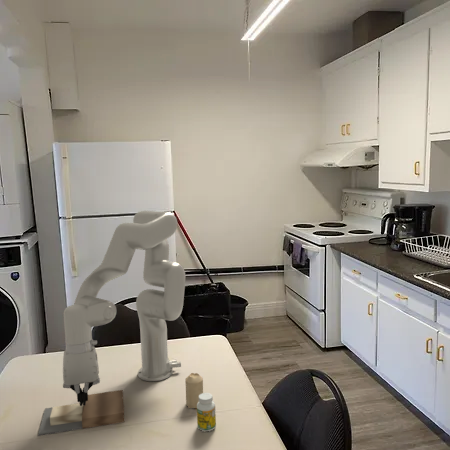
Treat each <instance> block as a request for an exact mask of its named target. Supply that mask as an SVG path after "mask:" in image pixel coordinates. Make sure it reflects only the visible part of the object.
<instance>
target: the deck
mask: <svg viewBox="0 0 450 450" xmlns="http://www.w3.org/2000/svg"><path fill="white" fill-rule="evenodd" d="M124 407H125V406H124V389H120V390H113V391H106V392H99V393H91V394H88V401H86V405H83V413H82V429H81V430H83V429H89V428H95V427H96V428H97V427H101V426H107V425H108V426H109V425H114V424H115V425H116V424H119V423H125V422H126V421H125V408H124Z"/></svg>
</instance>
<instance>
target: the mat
mask: <svg viewBox="0 0 450 450" xmlns="http://www.w3.org/2000/svg"><path fill="white" fill-rule="evenodd" d="M53 407H54V406H51V407H46V408H44V412H43V416H42V419H41V423H40V426H39V431H38V433H37V435H38V437H41V436H45V435H51V434H57V433H58V434H59V433H65V432H69V431H76V430H83V429H82V421H78V422H72V423H65V424H59V425H52V426H50V415H51V412H52V408H53Z"/></svg>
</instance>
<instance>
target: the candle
mask: <svg viewBox="0 0 450 450" xmlns="http://www.w3.org/2000/svg"><path fill="white" fill-rule="evenodd" d="M202 393H204V378H203V376H201V375H200V374H199V373H197V372H196V373H194V372H192V373H190V374H189V375H188V376H186V378H185V405H186V407H187V406H188V407H189V409H191V408H197V403H198V402H199V395H200V394H202ZM188 407H187V408H188Z"/></svg>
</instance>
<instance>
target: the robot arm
mask: <svg viewBox="0 0 450 450" xmlns="http://www.w3.org/2000/svg"><path fill="white" fill-rule="evenodd" d="M132 220H133V221H132V222H122V223H120V224H118V225H117V227H116V228H115V229H114V231H113V234H112V237H111V240H110V242H109V244H108V247H107V249H106V252H105V255H104V257H103V260H102V262H101V263H100V265H99V266H98V267H96V268H95V269H94V270H93V271H92V272H91V273H90V274H89V275H87V277H86V278H85V279H84V281H83V282H82V283H81V285H80V288H79V290H78V292H77V294H76V297H75V300H74V304H71V305H69V306H66V307H65V308H64V310H63V327H64V337H65V338H64V339H65V340H64V341H65V350H64V351H63V356H62V381H63V384H62V388H64V389H71V390H72V391H74V392H75V394H76V397H77V398H76V399H77V403H80V406H82V405H86V401H88V395H89V394H88V393H89V390H90V389H91V388H92V386H95V385H98V384H100V382H101V378H100V376H99V373H100V371H99V360H98V353H97V351H96V347H95V345H98V340H94V339H93V336H92V334H93V333H92V328H93V327H98V326H103V325H106V324H109V323H111V322H112V321H113V320H114V319H115V318H116V315H117V306H116V304H114V303H113V302H112V301H110V300H107V299H103V298H99V297H98V294H99V292H100V291H101V290H102V288H103V287H104V286H105V285H106V284H107V283H109V282H110V281H113V280H115V279H117V278H120V277H122V276H124V275H126V274H127V272H128V270H129V268H130V264H131V261H132V260H133V257H134V254H135V252H136V250H142V251H144V262H143V271H142V272H143V277H142V278H143V280H144V283H146V284H147V285H149V286H153V287H156V288H157V287H158V288H164V289H163V290H158V289H154V288H153V289H152V288H149V289H148V288H147V289H144V290H142V291H141V292H140V293H138V295H137V297H136V299H135V300H136V301H135V306H136V310H137V315H138V319H139V329H140V332H139V333H140V334H139V335H140V351H141V352H140V355H141V367H140V368H139V369H138V371H137V375H138V379H140V380H142V381H145V382H146V381H147V382H159V381H163V380H166V379H167V378H170V377H171V376H172V374H173V371H174V370H173V369H175V368H182V363H181V361H177V359H174V360H170V359H169V355H168V352H169V351H168V350H169V349H168V328H167V322H166V321H175V320H177V319H178V318H179V317H180V316H181V314H182V311H183V308H184V307H183V306H184V300H185V298H184V297H185V289H186V271H185V269H184V267H183V266H182V264H180V263H179V262H178V261H177V262H175V261H171V260H170V259H169V258H170V257H169V256H170V245H169V241H168V239H169V238H171V237H172V236H173V235H174V234H175V233H176V231H177V228H178V219H177V217H176V216H175V215H174V214H173V213H172V212H168V211H155V210H141V211H138V212H136V213H135V214H134V216H133V219H132ZM81 384H83V385H84V386H83V387H81Z"/></svg>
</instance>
